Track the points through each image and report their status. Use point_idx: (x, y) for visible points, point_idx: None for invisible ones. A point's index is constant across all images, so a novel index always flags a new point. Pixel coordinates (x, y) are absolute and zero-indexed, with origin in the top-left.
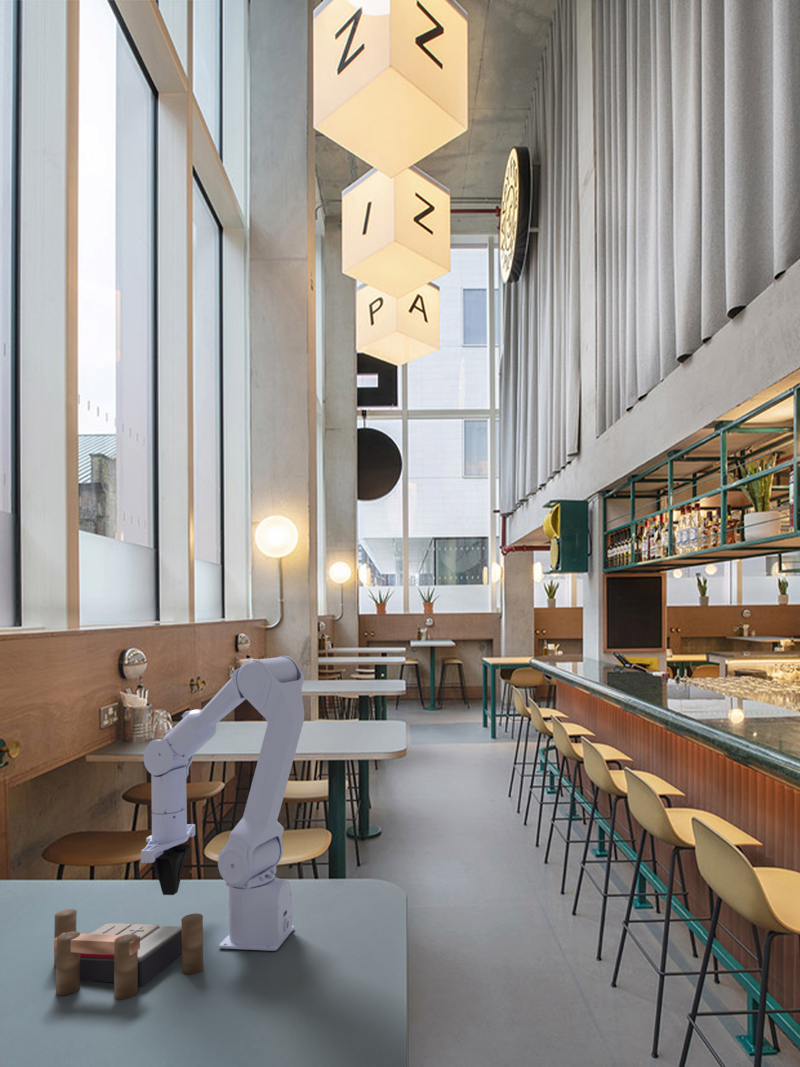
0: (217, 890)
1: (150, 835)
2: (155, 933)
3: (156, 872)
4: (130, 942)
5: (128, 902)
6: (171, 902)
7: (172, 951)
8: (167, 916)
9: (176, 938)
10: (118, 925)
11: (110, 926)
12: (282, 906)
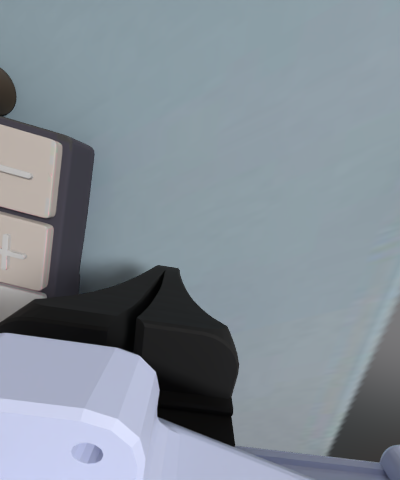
0: (338, 293)
1: (82, 426)
2: (2, 297)
3: (113, 286)
4: None
5: (324, 93)
6: (295, 215)
7: None
8: (217, 233)
9: None
10: (39, 186)
11: (33, 164)
12: None
